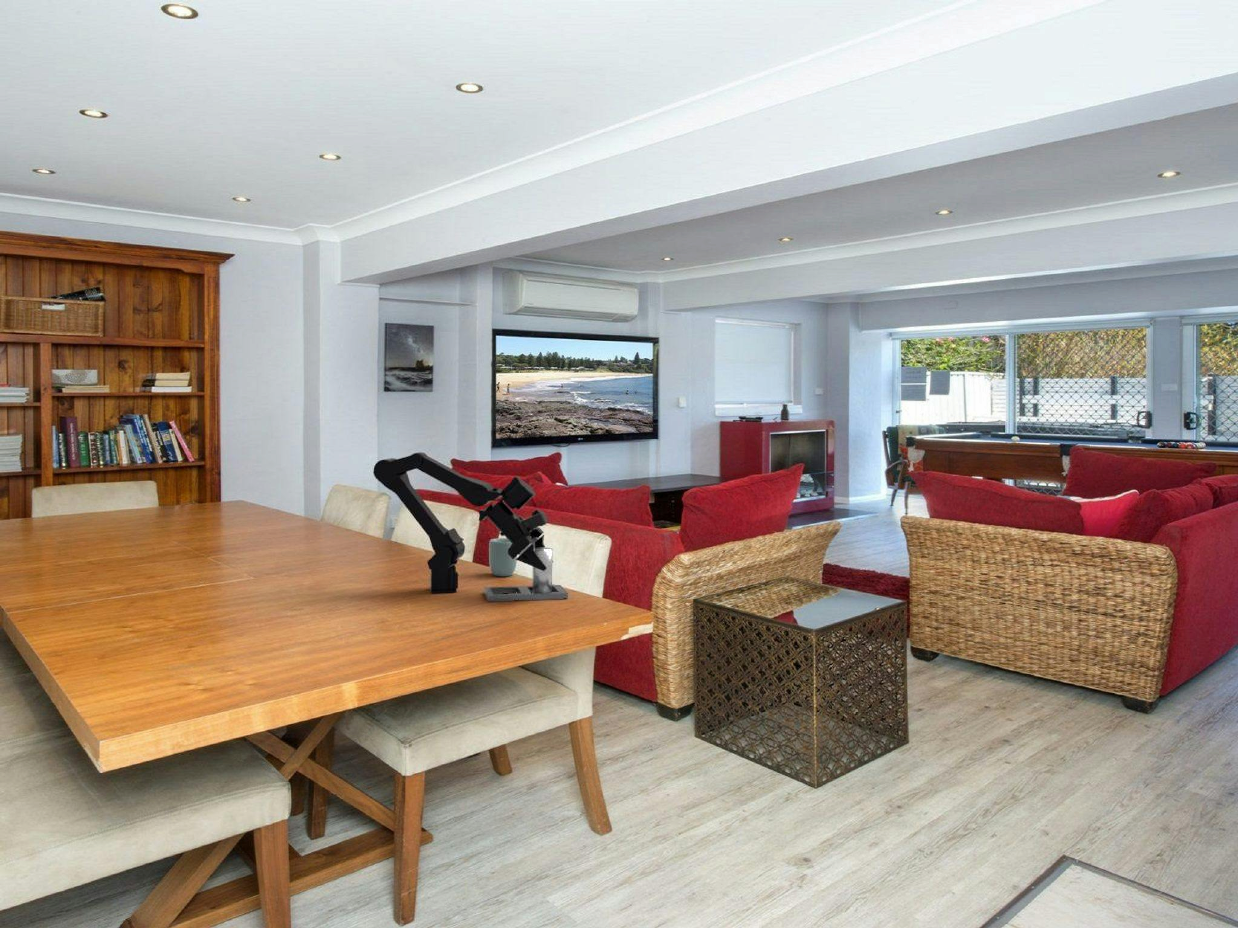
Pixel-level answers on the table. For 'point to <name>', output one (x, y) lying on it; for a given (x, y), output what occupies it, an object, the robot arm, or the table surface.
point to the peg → (543, 572)
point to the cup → (501, 557)
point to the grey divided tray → (523, 593)
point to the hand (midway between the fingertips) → (548, 566)
